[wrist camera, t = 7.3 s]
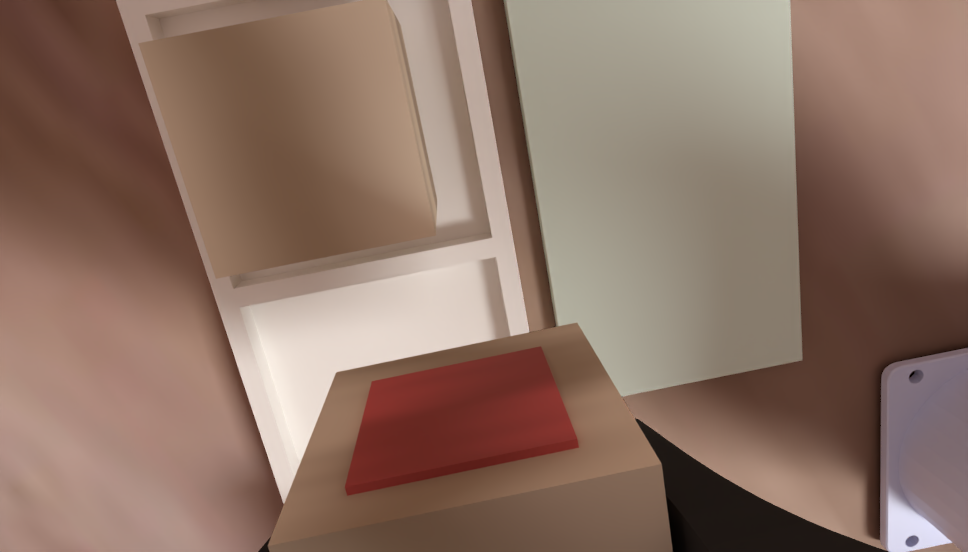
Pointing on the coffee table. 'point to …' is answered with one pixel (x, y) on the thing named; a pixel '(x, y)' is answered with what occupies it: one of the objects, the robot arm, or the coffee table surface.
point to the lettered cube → (478, 457)
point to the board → (665, 180)
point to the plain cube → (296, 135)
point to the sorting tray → (376, 271)
